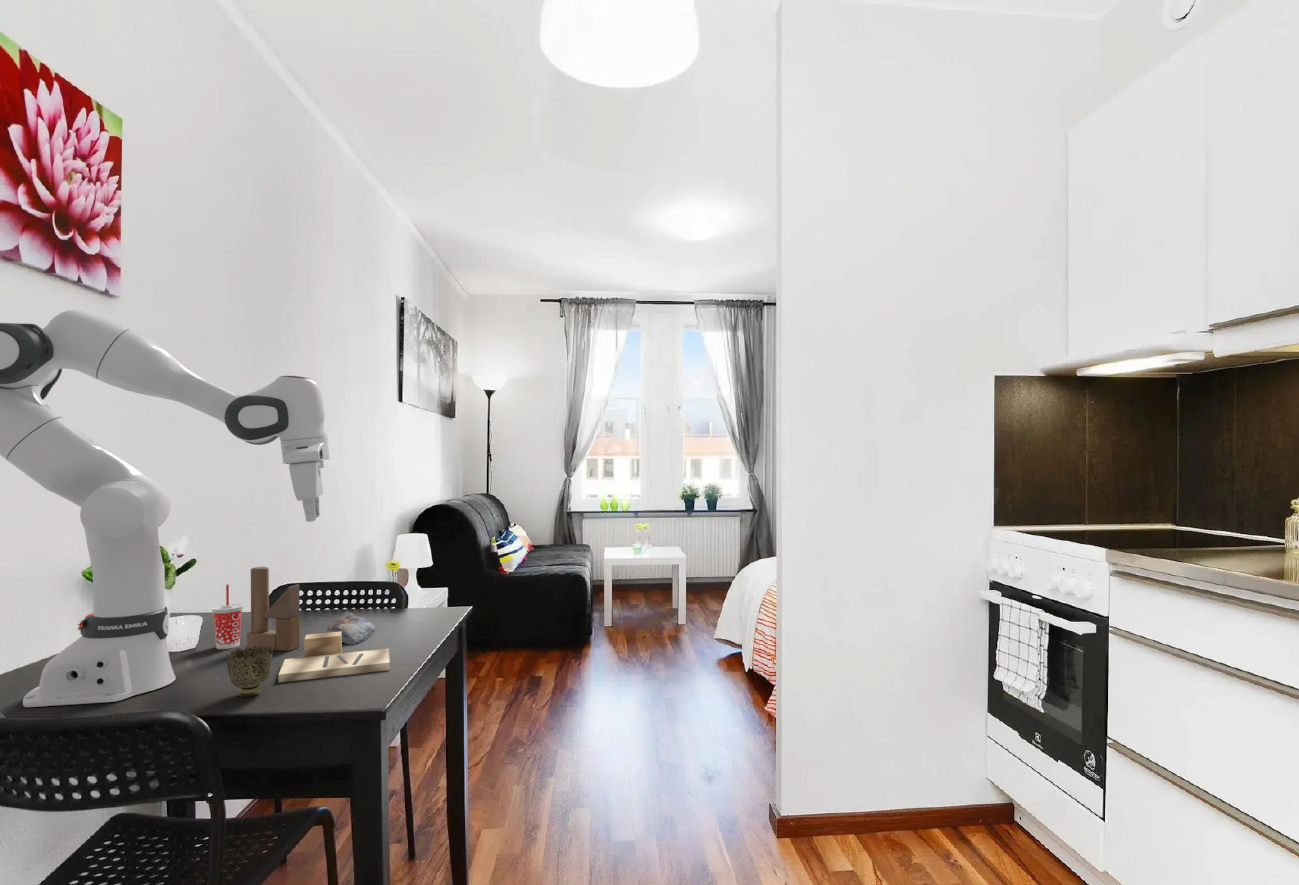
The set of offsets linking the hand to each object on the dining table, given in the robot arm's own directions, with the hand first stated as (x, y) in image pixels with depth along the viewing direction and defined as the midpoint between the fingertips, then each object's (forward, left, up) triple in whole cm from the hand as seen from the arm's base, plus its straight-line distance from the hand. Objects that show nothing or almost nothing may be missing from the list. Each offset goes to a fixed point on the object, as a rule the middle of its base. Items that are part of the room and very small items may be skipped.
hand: (313, 519), depth 151 cm
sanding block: (+2, +3, -30) cm, 30 cm away
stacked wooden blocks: (-9, +16, -30) cm, 35 cm away
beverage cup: (-19, +22, -30) cm, 42 cm away
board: (+5, -6, -30) cm, 31 cm away
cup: (-9, -17, -30) cm, 36 cm away
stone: (+7, +21, -30) cm, 38 cm away
